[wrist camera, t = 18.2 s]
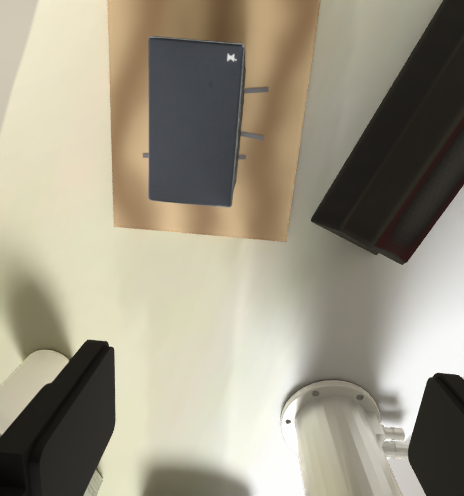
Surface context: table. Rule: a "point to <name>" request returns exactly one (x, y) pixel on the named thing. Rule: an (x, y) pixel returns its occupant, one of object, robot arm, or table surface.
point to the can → (28, 383)
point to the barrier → (407, 150)
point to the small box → (194, 119)
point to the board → (253, 119)
